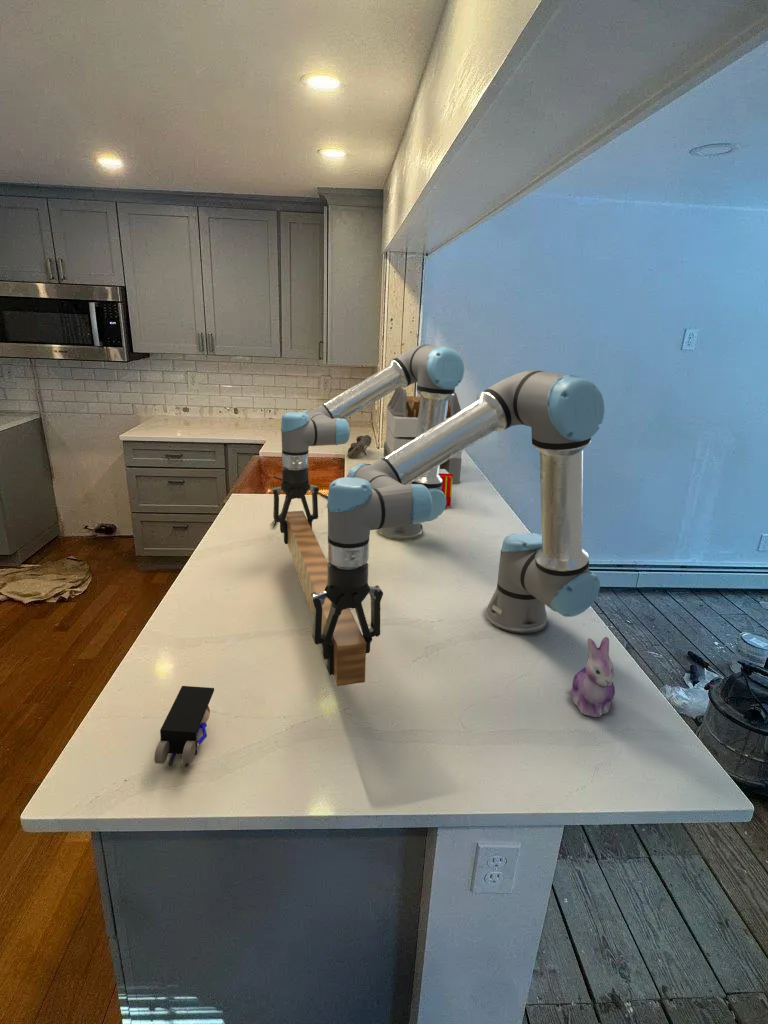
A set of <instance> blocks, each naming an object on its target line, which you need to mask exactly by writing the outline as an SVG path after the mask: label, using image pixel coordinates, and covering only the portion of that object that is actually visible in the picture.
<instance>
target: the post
mask: <svg viewBox="0 0 768 1024" xmlns="http://www.w3.org/2000/svg"><path fill="white" fill-rule="evenodd" d="M285 520H286V522H287V537H288V544H286V545H287V548H288V551H289V553H290V557H291V559H292V562H293V565H294V567H295V570H296V573H297V576H298V579H299V582H300V585H301V588H302V590H303V591H302V592H303V593H304V597H305V600H306V602H307V605H308V609H309V612H310V615H311V617H312V618H313V606H314V603H313V600H312V598H311V594H312V593H313V592H316V593H317V594H318V593H320V592H323V591H324V590H325V588H326V586H327V564H328V562H329V561H328V559H327V558H326V556H325V554H324V552H323V549H322V548H321V545H320V543H319V541H318V538H317V537H316V535H315V533H314V530H313V528H312V529H311V527H310V524H309V522H308V520H307V516H306V513H305V511H304V510H292V511H288V512H287V516H286V519H285ZM324 601H325V602H324V604H323V605H321V606H322V627H321V635H322V633H323V630H324V627H325V624H326V621H327V618H328V615H329V611H330V606H331V601H330V600H329V599H328V598H325V600H324ZM331 640H332V643H333V645H334V670H333V675H332V676H333V679H334V682H335V685H336V687H341V686H350V685H356V684H363V683H365V682H366V664H367V662H366V661H367V653H366V642H365V640H364V637H363V633H362V630H361V628H360V627H359V625H358V622H357V620H356V619H355V616H354V615H353V613H352V609H351V608H347V609H344V610H342V612H341V615H339V618H338V621H337V624H336V627H335V630H334V633H333V636H332V639H331Z"/></svg>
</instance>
